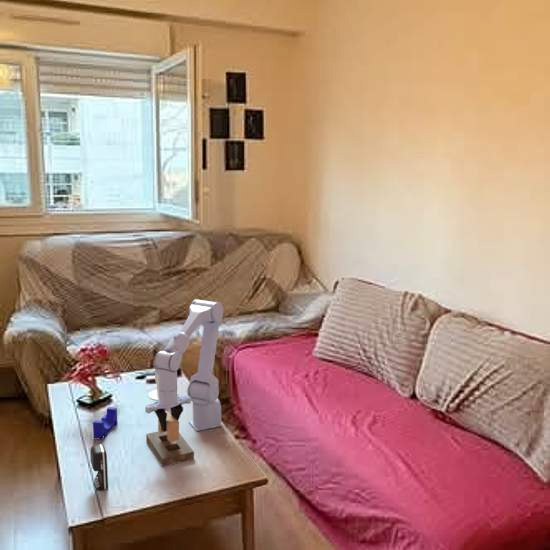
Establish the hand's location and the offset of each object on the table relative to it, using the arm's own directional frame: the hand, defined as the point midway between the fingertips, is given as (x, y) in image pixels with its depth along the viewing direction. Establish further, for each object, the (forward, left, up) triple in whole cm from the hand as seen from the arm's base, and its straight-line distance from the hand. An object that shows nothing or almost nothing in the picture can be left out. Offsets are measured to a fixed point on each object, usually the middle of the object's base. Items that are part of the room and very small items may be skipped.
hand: (169, 428), depth 188 cm
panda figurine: (-11, -43, -8) cm, 45 cm away
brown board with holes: (0, 0, -7) cm, 7 cm away
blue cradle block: (+16, -23, -8) cm, 29 cm away
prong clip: (0, 0, -2) cm, 2 cm away
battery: (+24, +11, -8) cm, 27 cm away
